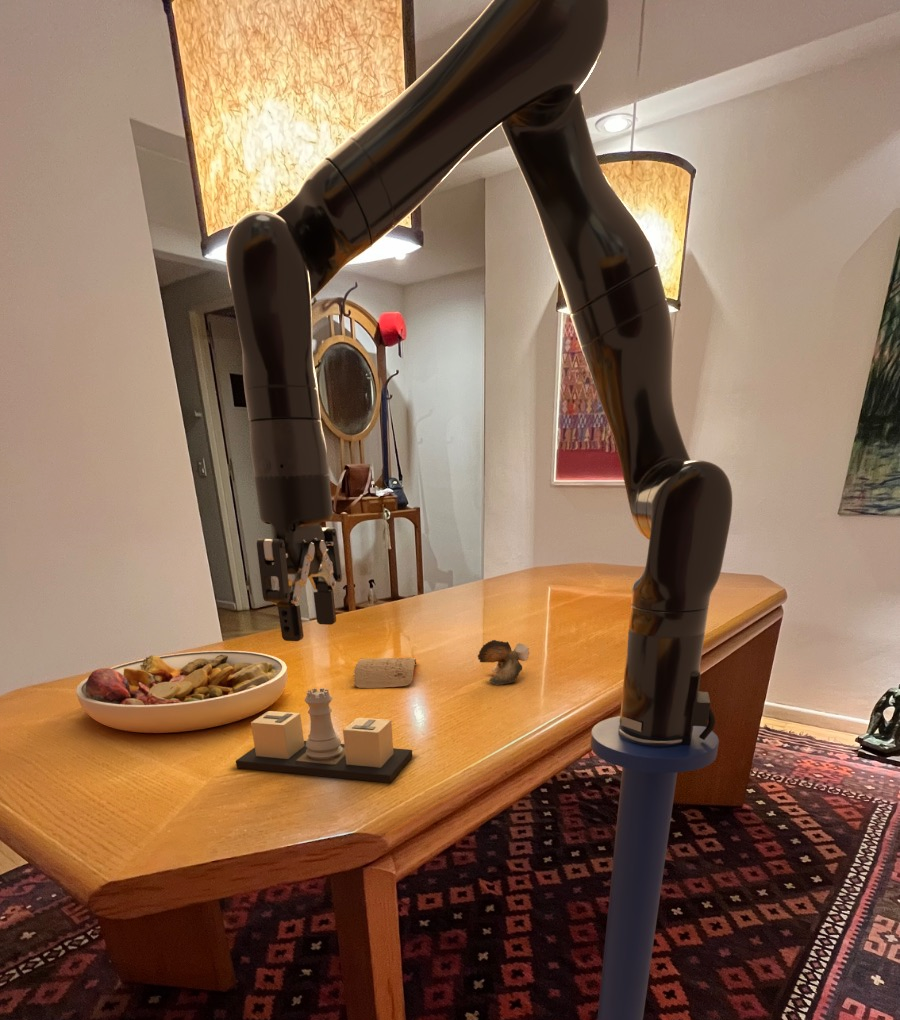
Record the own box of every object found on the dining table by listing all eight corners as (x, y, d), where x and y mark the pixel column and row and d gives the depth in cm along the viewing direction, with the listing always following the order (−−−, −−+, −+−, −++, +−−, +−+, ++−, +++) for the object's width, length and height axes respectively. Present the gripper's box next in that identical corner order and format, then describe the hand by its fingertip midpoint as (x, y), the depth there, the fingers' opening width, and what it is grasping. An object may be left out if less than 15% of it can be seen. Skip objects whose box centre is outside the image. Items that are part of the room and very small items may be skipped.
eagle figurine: (482, 661, 119) (466, 665, 111) (505, 628, 117) (491, 629, 108) (515, 688, 119) (502, 693, 110) (540, 655, 116) (528, 658, 108)
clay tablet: (363, 665, 124) (362, 650, 123) (418, 664, 124) (417, 649, 122) (352, 688, 111) (350, 672, 110) (413, 687, 111) (412, 671, 109)
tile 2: (393, 753, 82) (391, 718, 80) (380, 767, 79) (378, 731, 77) (360, 750, 84) (357, 716, 82) (346, 764, 80) (342, 728, 78)
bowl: (232, 669, 123) (225, 625, 120) (328, 703, 104) (322, 652, 100) (56, 708, 105) (42, 658, 101) (133, 759, 85) (117, 700, 82)
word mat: (412, 756, 84) (412, 748, 84) (390, 783, 77) (390, 774, 77) (269, 744, 89) (268, 736, 88) (236, 768, 82) (235, 759, 82)
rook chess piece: (321, 745, 85) (314, 683, 82) (350, 750, 83) (344, 688, 80) (298, 757, 82) (290, 694, 78) (328, 763, 80) (321, 698, 76)
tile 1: (304, 746, 85) (300, 712, 83) (288, 759, 82) (283, 724, 80) (273, 743, 87) (268, 709, 85) (256, 756, 83) (250, 721, 81)
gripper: (292, 472, 62) (313, 648, 69) (352, 469, 74) (365, 619, 81) (220, 474, 63) (248, 645, 71) (291, 472, 76) (308, 618, 83)
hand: (311, 631), depth 76 cm, fingers open, 8 cm apart
